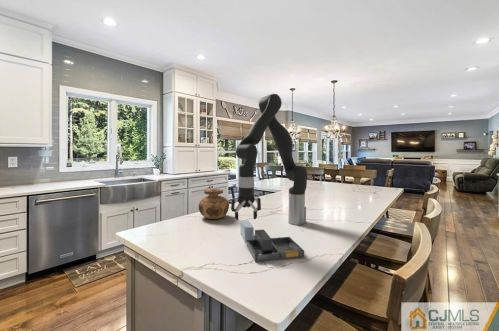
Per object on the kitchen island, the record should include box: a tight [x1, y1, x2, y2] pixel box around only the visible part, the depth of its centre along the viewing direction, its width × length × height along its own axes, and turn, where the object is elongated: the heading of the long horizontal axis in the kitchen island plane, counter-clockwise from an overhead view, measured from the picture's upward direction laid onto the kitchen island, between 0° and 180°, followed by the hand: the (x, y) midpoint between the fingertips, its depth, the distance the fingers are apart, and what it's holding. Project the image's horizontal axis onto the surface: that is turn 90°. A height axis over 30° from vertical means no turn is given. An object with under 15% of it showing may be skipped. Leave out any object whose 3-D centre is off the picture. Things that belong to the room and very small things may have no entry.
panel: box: [240, 219, 255, 244], centre depth 119 cm, size 4×12×7 cm, turn 12°
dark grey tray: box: [246, 228, 305, 263], centre depth 103 cm, size 20×16×8 cm
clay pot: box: [198, 187, 230, 220], centre depth 153 cm, size 19×19×20 cm
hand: (245, 219), depth 118 cm, fingers open, 8 cm apart
